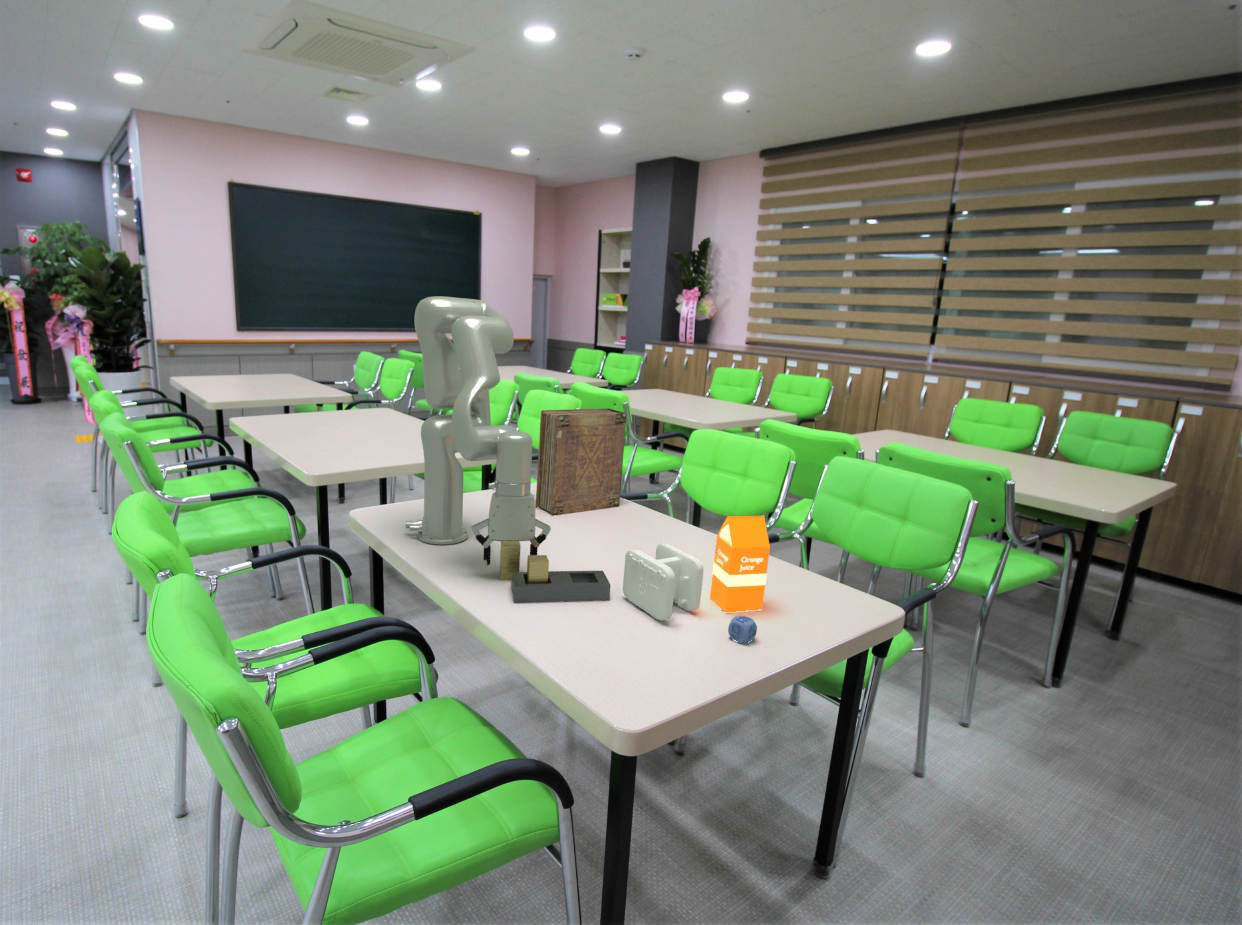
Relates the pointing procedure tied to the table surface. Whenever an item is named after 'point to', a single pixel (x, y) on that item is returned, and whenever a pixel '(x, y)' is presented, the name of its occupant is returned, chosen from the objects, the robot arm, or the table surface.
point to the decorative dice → (742, 629)
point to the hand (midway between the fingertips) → (510, 562)
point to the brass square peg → (509, 559)
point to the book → (580, 460)
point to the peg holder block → (557, 583)
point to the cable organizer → (663, 580)
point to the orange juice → (740, 564)
